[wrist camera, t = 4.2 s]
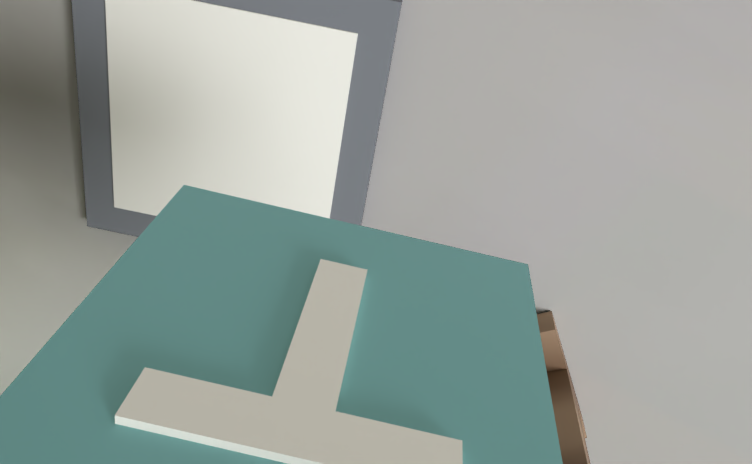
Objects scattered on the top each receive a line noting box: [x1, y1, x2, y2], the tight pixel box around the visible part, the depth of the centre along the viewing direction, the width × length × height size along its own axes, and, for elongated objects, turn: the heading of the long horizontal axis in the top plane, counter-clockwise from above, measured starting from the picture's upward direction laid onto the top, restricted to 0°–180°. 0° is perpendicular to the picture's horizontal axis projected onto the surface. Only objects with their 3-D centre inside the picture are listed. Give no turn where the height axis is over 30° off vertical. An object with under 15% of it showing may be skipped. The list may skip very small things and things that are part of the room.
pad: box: [72, 0, 402, 237], centre depth 19 cm, size 9×9×1 cm
